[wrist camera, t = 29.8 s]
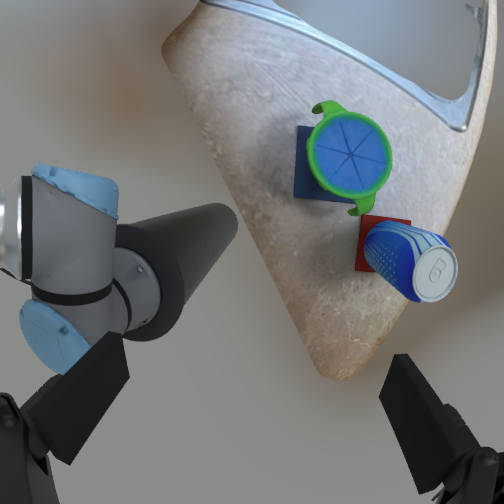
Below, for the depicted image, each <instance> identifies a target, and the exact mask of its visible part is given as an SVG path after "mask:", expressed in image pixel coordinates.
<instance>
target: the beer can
mask: <svg viewBox="0 0 504 504" xmlns="http://www.w3.org/2000/svg"><path fill="white" fill-rule="evenodd" d="M364 255H365V258H366V261H367V263H368V264H369V266H370V267H371V268H372V269H373V270H375V271H376V272H377V273H378V274H379V275H381V276H382V277H383V278H384V279H385V280H386V281H388V282H389V283H390V284H391V285H392V286H393V287H395V288H396V289H397V290H398V291H399V292H400V293H402V294H403V295H404V296H405V297H406V298H408V299H409V300H411V301H414V302H419V303H422V302H436V301H439V300H441V299H442V298H444V297H445V296H446V295H447V294H448V293H449V291H450V290H451V289H452V287H453V285H454V283H455V281H456V278H457V273H458V263H457V258H456V256H455V254H454V252H453V251H452V250H451V248H450V246H449V244H448V242H447V241H446V240H445V239H444V238H443V237H441V236H440V235H438V234H435V233H432V232H428V231H425V230H422V229H419V228H416V227H412V226H409V225H406V224H402V223H399V222H396V221H390V220H388V221H383V222H380V223H378V224H377V225H375V226H374V227H373V228H372V229H371V230H370V232H369V233H368V235H367V237H366V240H365V243H364Z"/></svg>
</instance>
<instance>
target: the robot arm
mask: <svg viewBox="0 0 504 504" xmlns="http://www.w3.org/2000/svg"><path fill="white" fill-rule="evenodd" d="M31 174H33V175H32V176H18V177H17V178H16V179H15V180H14V181H13V182H12V183H11V184H10V185H9V187H7V188H6V189H4V190H0V270H2V271H3V272H5V273H6V274H8V275H10V276H11V277H13V278H15V279H17V280H19V281H21V282H24V283H26V284H28V285H31V290H32V299H31V300H30V299H29V300H27V301H26V302H25V303H24V305H23V306H22V308H21V310H20V313H19V320H20V326H21V329H22V332H23V335H24V337H25V339H26V341H27V343H28V344H29V346H30V347H31V349H32V350H33V352H34V353H35V354H36V355H37V357H38V358H39V359H40V360H41V361H42V362H43V363H44V364H45V365H47V366H48V367H49V368H50V369H52V370H53V371H55V372H56V373H58V374H57V375H55V376H54V377H51V378H50V379H49V380H48V381H47V382H46V383H45V384H44V385H43V386H41V388H40V389H39V390H38V392H37V391H36V392H35V394H33V396H32V397H30V398H29V400H28V401H27V402H26V403H24V404H23V406H22V407H21V408H20V409H19V408H18V407H17V405H16V403H15V401H14V399H13V398H12V396H11V395H10V394H8V393H3V392H1V393H0V504H60V503H59V500H58V496H57V493H56V489H55V485H54V480H53V476H52V472H51V466H50V461H49V457H48V455H47V453H48V452H49V450H50V451H51V452H52V454H53V455H54V456H55V458H56V459H58V460H60V461H62V462H64V463H66V464H68V465H71V463H72V461H73V460H74V459H75V457H76V456H77V454H78V453H79V451H80V450H81V448H82V446H83V445H84V443H85V442H86V440H87V439H88V437H89V436H90V434H91V433H92V431H93V430H94V428H95V427H96V425H97V424H98V423H99V421H100V420H101V418H102V417H103V415H104V414H105V412H106V411H107V409H108V408H109V406H110V405H111V404H112V402H113V401H114V399H115V398H116V396H117V395H118V393H119V392H120V391H121V389H122V388H123V386H124V384H125V383H126V382H127V381H128V379H129V378H130V376H129V371H128V366H127V361H126V356H125V351H124V345H123V339H122V335H123V334H124V333H125V332H127V331H130V330H133V329H136V328H139V327H142V326H144V325H146V324H147V323H149V322H150V321H151V320H152V318H153V317H154V316H155V315H156V314H157V312H158V310H159V308H160V305H161V301H162V288H161V283H160V280H159V277H158V275H157V272H156V271H155V269H154V267H153V266H152V264H151V263H150V262H149V261H148V260H147V259H146V258H145V257H144V256H143V255H142V254H140V253H139V252H137V251H135V250H133V249H130V248H127V247H114V246H115V234H116V224H117V220H118V215H117V208H118V197H119V196H118V195H119V191H118V187H117V185H116V183H115V182H114V181H113V180H111V179H108V178H105V177H100V176H96V175H92V174H88V173H83V172H78V171H74V170H69V169H64V168H58V167H54V166H49V165H44V164H36V165H35V166H34V168H33V170H32V172H31ZM4 268H5V269H7V270H9V271H10V272H11V273H10V272H9V271H7V270H5V269H4ZM25 279H31V282H30V281H27V280H25ZM379 399H380V401H381V403H382V405H383V407H384V410H385V412H386V414H387V416H388V419H389V421H390V423H391V425H392V428H393V430H394V432H395V435H396V437H397V440H398V442H399V444H400V447H401V449H402V452H403V454H404V457H405V459H406V462H407V464H408V467H409V469H410V472H411V474H412V477H413V479H414V482H415V485H416V487H417V490H418V493H419V495H420V494H423V493H426V492H429V491H432V490H434V489H436V488H437V487H438V486H439V485H440V483H441V482H443V484H444V487H443V488H442V490H440V491H439V492H438V493H437V494H436V495H435V496H434V497H433V499H432V501H434V500H435V499H436V498H437V497H438V496H439V497H438V499H437V502H436V504H504V452H501V453H497V452H496V451H495V450H494V449H492V448H490V447H481V446H480V445H479V443H478V442H477V440H476V438H475V437H474V435H473V434H472V432H471V431H470V429H469V428H468V426H467V425H465V424H466V423H465V422H464V420H463V419H461V416H460V414H459V413H458V411H457V410H456V409H455V408H453V407H452V406H451V405H449V404H444V405H443V403H442V402H441V400H440V399H439V397H438V396H437V394H436V393H435V392H434V390H433V389H432V387H431V386H430V384H429V383H428V382H427V380H426V379H425V377H424V376H423V374H422V373H421V372H420V371H419V369H418V368H417V366H416V365H415V363H414V362H413V361H412V359H411V358H410V357H409V355H408V354H395V355H394V357H393V360H392V363H391V366H390V368H389V371H388V374H387V377H386V380H385V382H384V385H383V388H382V390H381V392H380V395H379Z"/></svg>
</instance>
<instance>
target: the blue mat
mask: <svg viewBox="0 0 504 504" xmlns="http://www.w3.org/2000/svg"><path fill="white" fill-rule="evenodd" d="M314 128H315V127H308V126H298V132H297V150H296V167H295V182H294V196H293V197H297V198H308V199H318V200H327V201H337V202H345V203H354V204H355V202H354V201H353V200H352V199H349V198H343V197H340V196H337V195H334V194H333V193H331V192H329V191H325V190H324V189H323V188H322V187H321V186H320V185H319V183H318V181H317V180H316V179H315V177H314V176H313V174H312V172H311V170H310V168H309V164H308V159H307V150H306V143H307V140H308V138H309V137H310V135H311V133H312V131H313V129H314Z"/></svg>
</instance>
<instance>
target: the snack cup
mask: <svg viewBox="0 0 504 504" xmlns="http://www.w3.org/2000/svg"><path fill="white" fill-rule="evenodd" d="M312 113H314V114H320V113H324V118H323V119H322V120H321V121H320V122H319V123H318V124H317V125H316V127H315V128H314V129H313V131H312V133H311V135H310V137H309V138H308V140H307V143H306V150H307V159H308V164H309V168H310V170H311V172H312V174H313V176H314V177H315V179H316V180H317V181H318V183H319V185H320V186H321V187H322V188H323V189H324V190H325V191H329V192H331V193H333V194H334V195H337V196H340V197H343V198H349V199H352V200H353V201H354V202H355V204H356V206H357V207H355V208H352V209H350V210H349V211H348V213H349V215H351V216H360V215H362V214H365V213H368V212H370V211H371V210H372V208H373V205H374V201H375V195H376V192H377V191H378V190H379V189H380V188H381V187H382V186H383V185H384V184H385V182H386V181H387V179H388V177H389V175H390V171H391V169H392V150H391V146H390V143H389V141H388V138H387V137H386V135H385V133H384V132H383V130H382V129H381V128H380V127H379V125H378V124H377V123H375V122H374V121H372V120H371V119H370V118H368V117H366V116H364V115H362V114H359V113H355V112H349V111H347V110H346V109H344V108H343V107H342V106H341V105H340V104H339V103H337V102H335V101H332V100H330V101H326V102H321V103H318V104H316V105H315V106H314V107H313V109H312Z"/></svg>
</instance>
